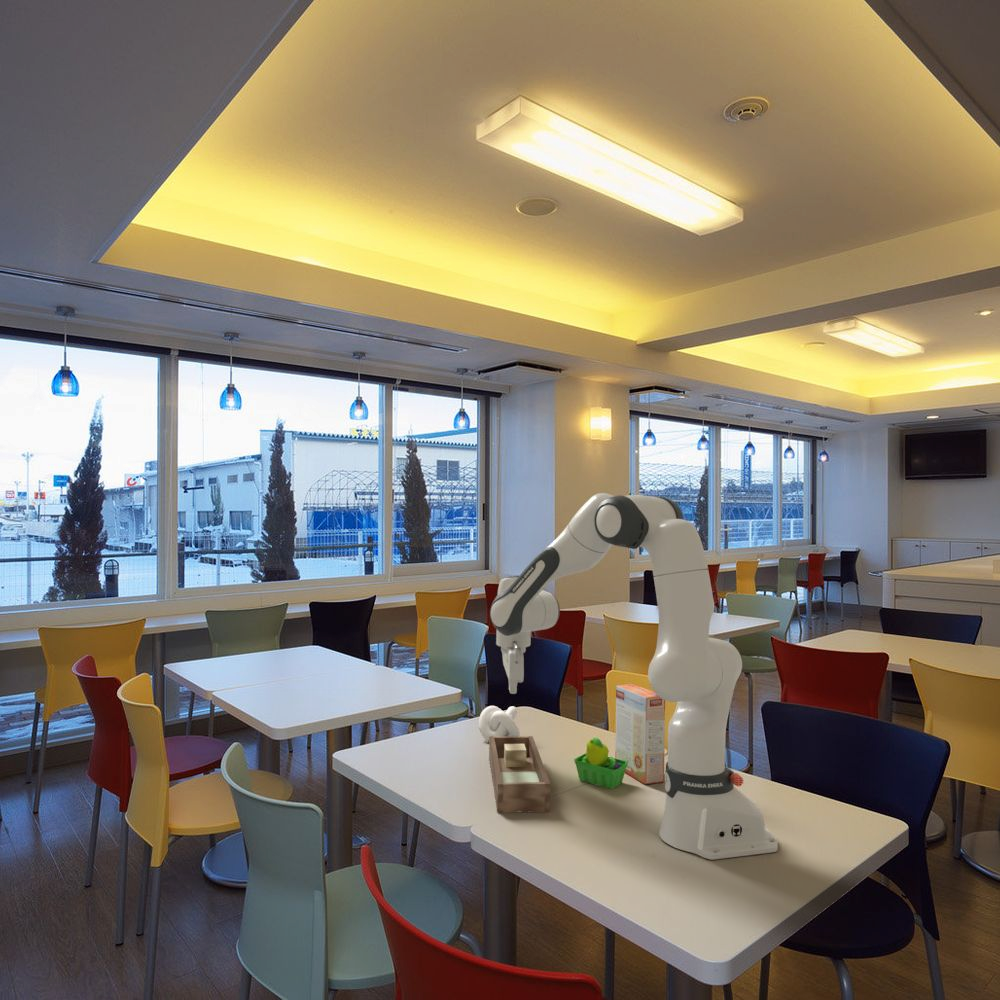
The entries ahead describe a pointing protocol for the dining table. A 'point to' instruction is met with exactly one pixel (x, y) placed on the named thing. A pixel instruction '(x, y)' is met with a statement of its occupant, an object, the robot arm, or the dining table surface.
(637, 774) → the cracker box
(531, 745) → the trap lane
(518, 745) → the maple block
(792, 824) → the dining table surface
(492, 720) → the white rounded piece
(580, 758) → the fruit basket
